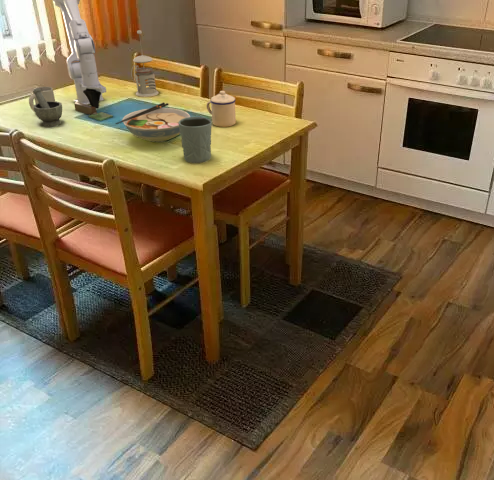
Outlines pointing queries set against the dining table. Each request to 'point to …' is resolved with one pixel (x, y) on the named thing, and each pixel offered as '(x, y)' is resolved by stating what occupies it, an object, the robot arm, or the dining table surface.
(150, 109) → the ramen bowl
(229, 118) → the teacup with lid
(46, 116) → the mortar and pestle
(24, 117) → the dining table surface
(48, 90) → the cup
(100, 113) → the spatula
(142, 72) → the french press
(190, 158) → the grey embossed tumbler
